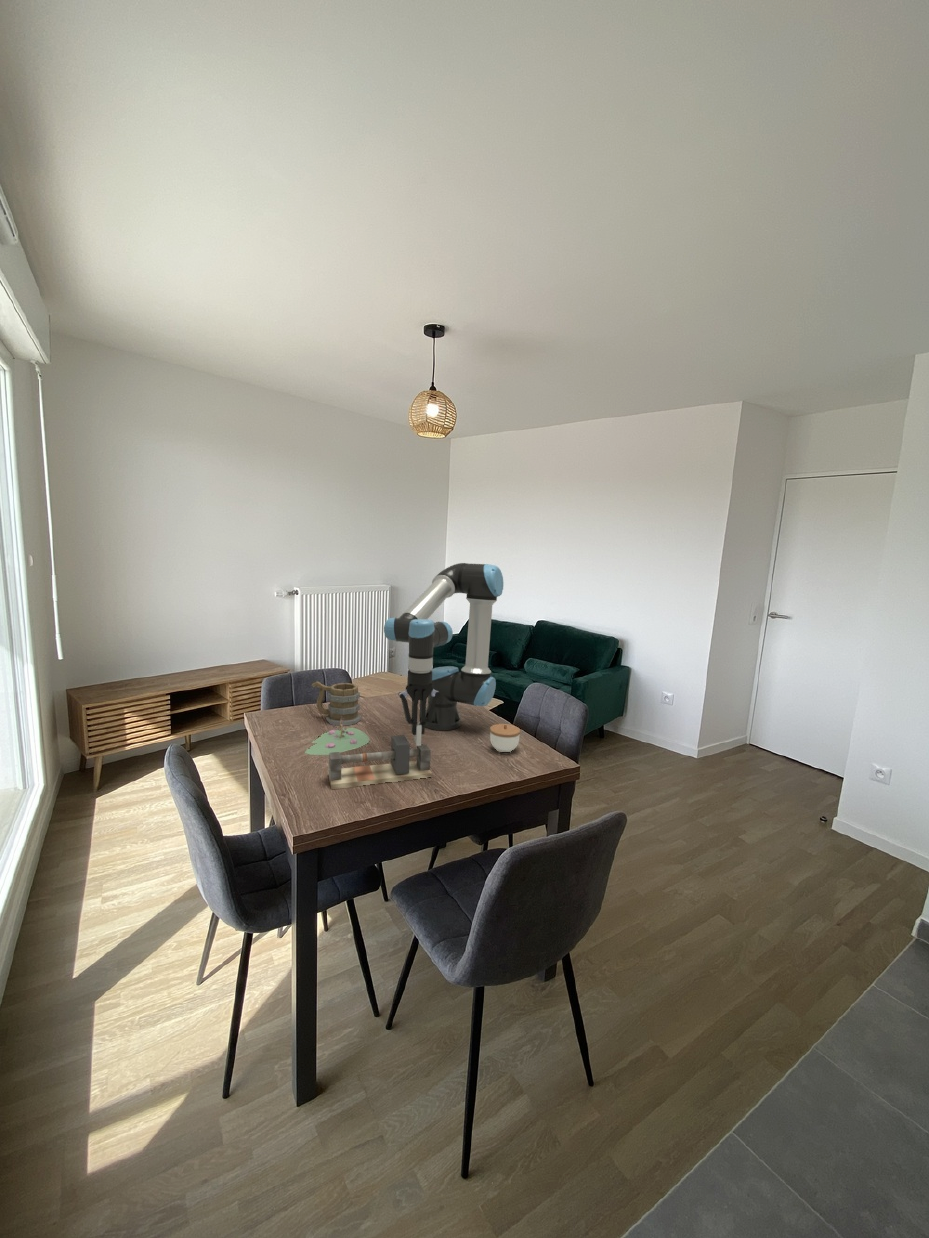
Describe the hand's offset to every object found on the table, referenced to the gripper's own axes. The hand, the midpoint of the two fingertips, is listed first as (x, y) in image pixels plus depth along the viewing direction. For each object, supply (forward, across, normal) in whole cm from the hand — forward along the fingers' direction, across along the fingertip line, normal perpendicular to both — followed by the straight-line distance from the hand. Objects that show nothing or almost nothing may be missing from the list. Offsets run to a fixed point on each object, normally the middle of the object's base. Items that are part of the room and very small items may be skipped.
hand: (417, 744), depth 158 cm
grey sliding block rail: (+9, +11, 0) cm, 15 cm away
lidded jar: (+10, -35, -10) cm, 37 cm away
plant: (+10, +21, -30) cm, 38 cm away
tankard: (+10, +19, -55) cm, 59 cm away
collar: (+7, +5, 0) cm, 9 cm away
